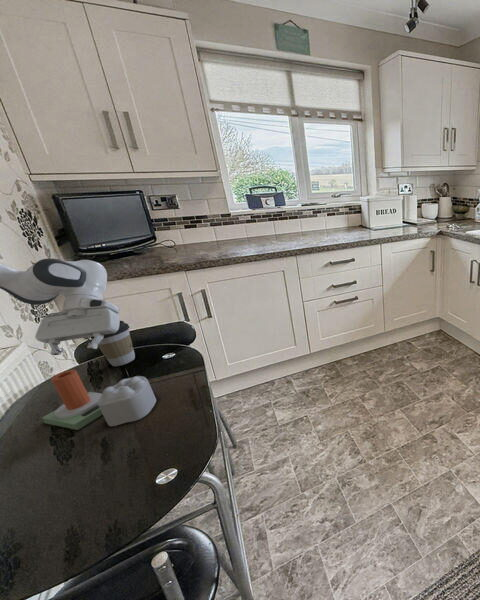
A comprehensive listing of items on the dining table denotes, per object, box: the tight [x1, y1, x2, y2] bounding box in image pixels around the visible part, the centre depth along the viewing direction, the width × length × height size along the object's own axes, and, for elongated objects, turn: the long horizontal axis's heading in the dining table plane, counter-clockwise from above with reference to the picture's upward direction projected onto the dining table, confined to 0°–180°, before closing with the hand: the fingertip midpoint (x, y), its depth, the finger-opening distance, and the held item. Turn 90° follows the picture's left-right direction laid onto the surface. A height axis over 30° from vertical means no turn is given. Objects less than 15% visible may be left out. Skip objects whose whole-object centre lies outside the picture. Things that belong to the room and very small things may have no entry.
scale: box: [41, 391, 103, 431], centre depth 95 cm, size 14×12×3 cm
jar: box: [50, 369, 91, 410], centre depth 93 cm, size 5×5×10 cm
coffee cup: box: [89, 320, 136, 367], centre depth 121 cm, size 11×11×15 cm
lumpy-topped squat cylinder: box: [97, 375, 157, 427], centre depth 94 cm, size 10×13×9 cm
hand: (74, 351), depth 96 cm, fingers open, 8 cm apart
